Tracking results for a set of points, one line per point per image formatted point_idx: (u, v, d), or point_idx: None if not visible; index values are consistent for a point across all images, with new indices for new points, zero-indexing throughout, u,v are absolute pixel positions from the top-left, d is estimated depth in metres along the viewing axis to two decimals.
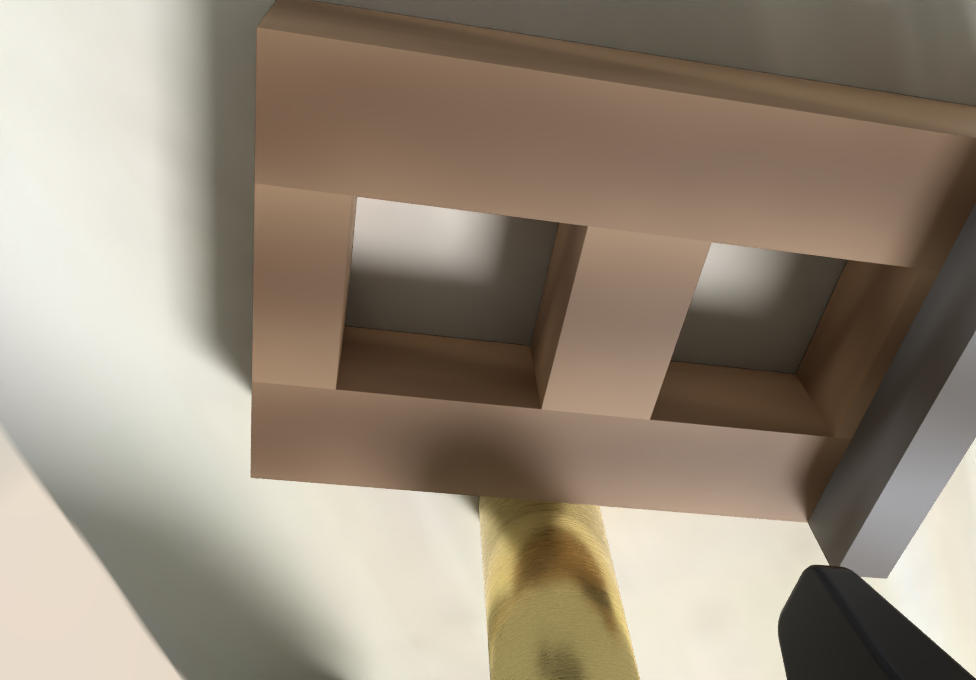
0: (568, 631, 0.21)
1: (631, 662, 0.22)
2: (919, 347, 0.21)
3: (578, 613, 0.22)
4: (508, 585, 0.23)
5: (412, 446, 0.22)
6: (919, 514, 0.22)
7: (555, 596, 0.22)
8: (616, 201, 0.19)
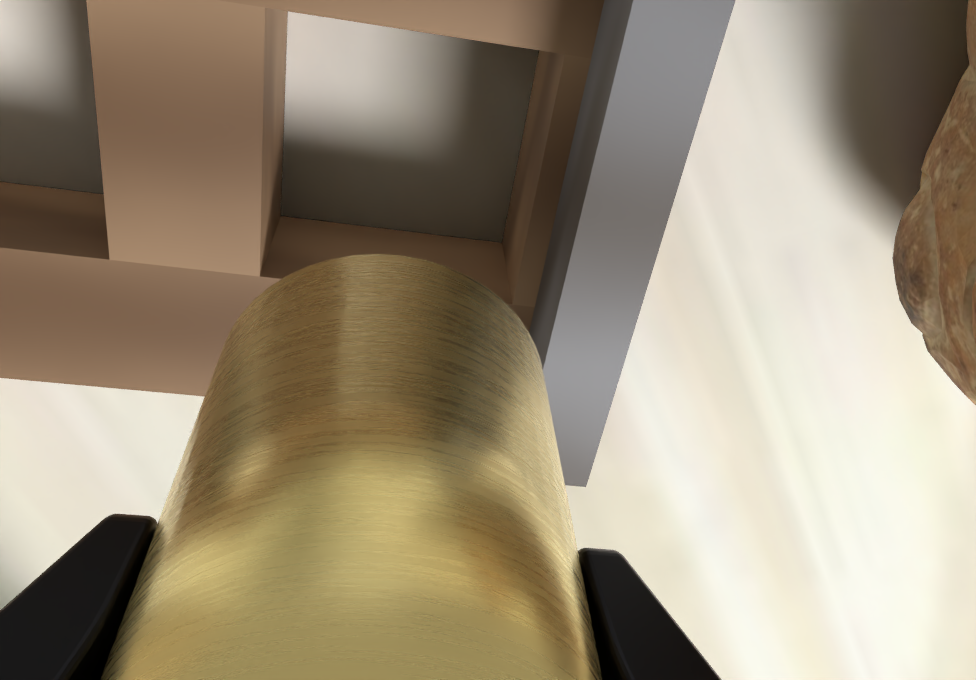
0: None
1: None
2: (574, 164, 0.16)
3: None
4: (131, 652, 0.06)
5: None
6: (603, 396, 0.17)
7: None
8: None
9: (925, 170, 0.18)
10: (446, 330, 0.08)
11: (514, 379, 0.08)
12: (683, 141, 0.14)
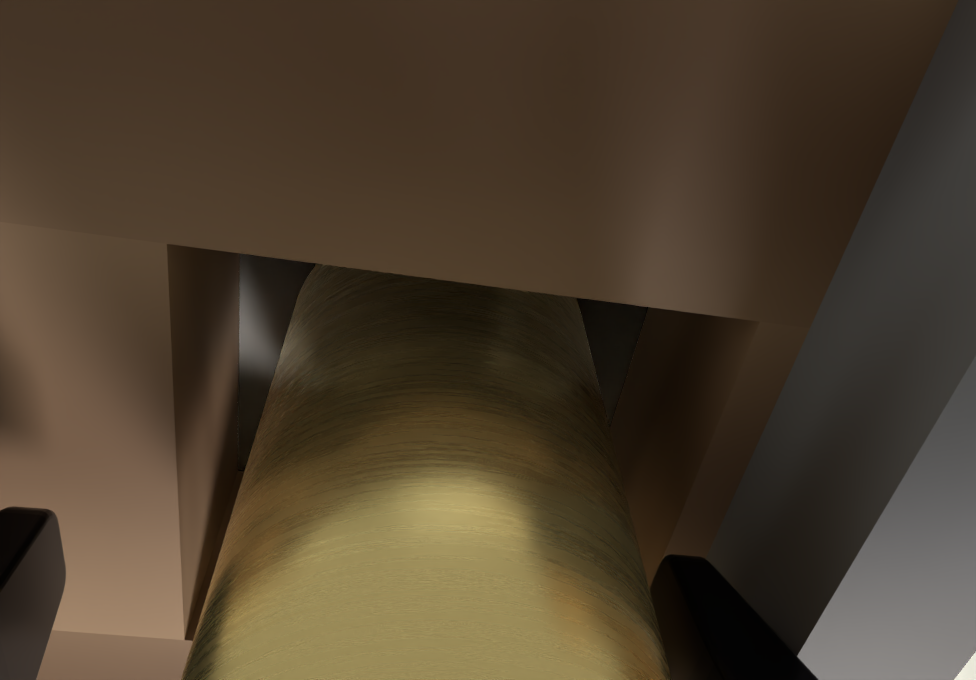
0: None
1: None
2: (764, 515, 0.08)
3: (477, 616, 0.05)
4: (256, 515, 0.07)
5: None
6: None
7: (393, 549, 0.06)
8: None
9: None
10: None
11: (562, 319, 0.10)
12: None
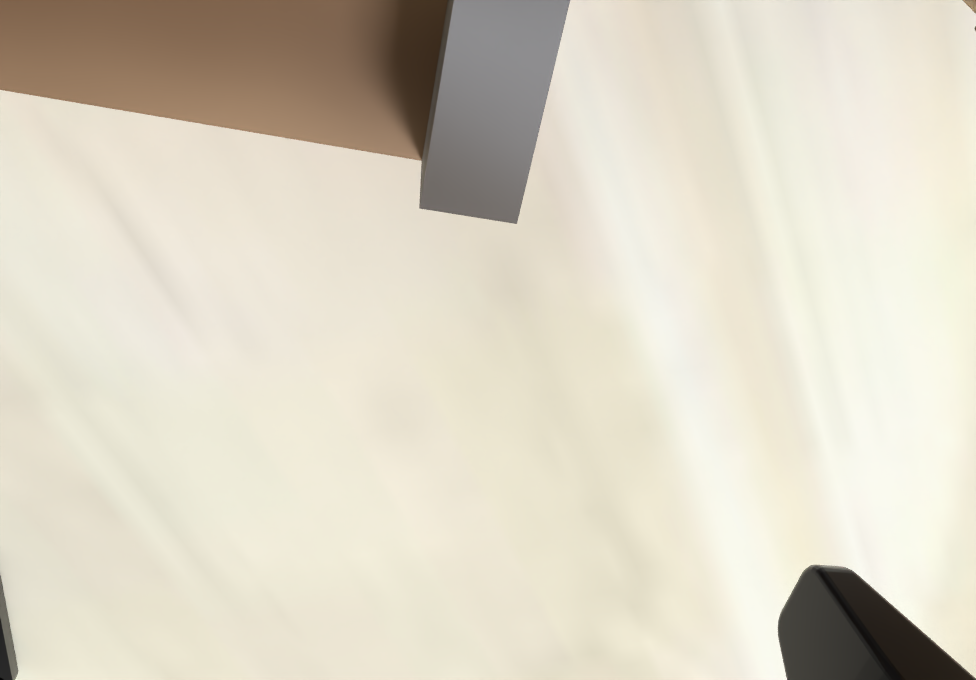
0: None
1: None
2: None
3: None
4: None
5: None
6: (539, 68, 0.12)
7: None
8: None
9: None
10: None
11: None
12: None
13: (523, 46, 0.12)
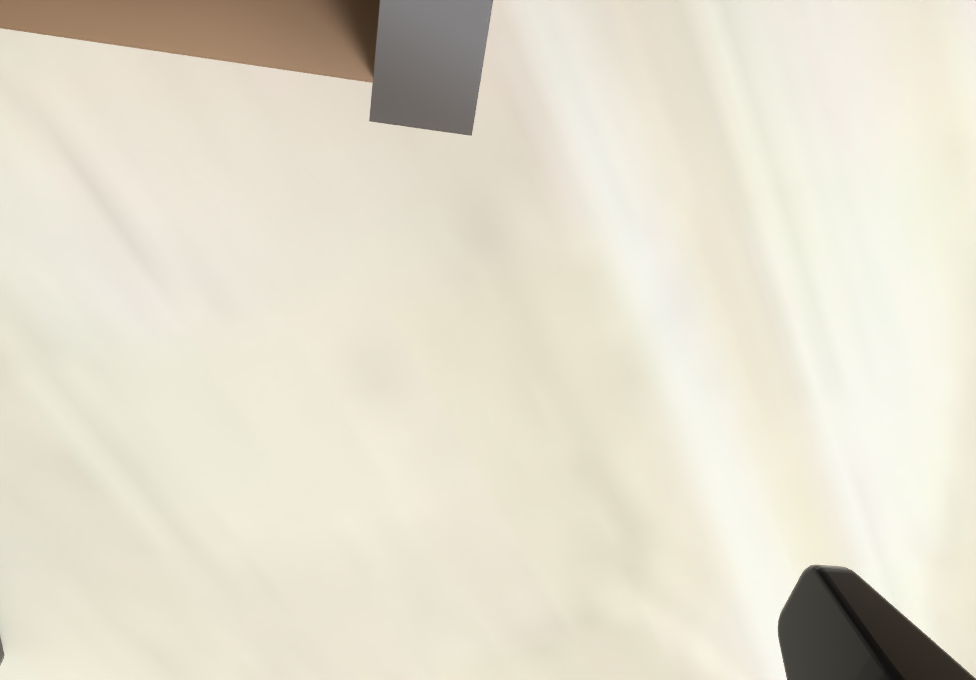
0: None
1: None
2: None
3: None
4: None
5: None
6: None
7: None
8: None
9: None
10: None
11: None
12: None
13: None
